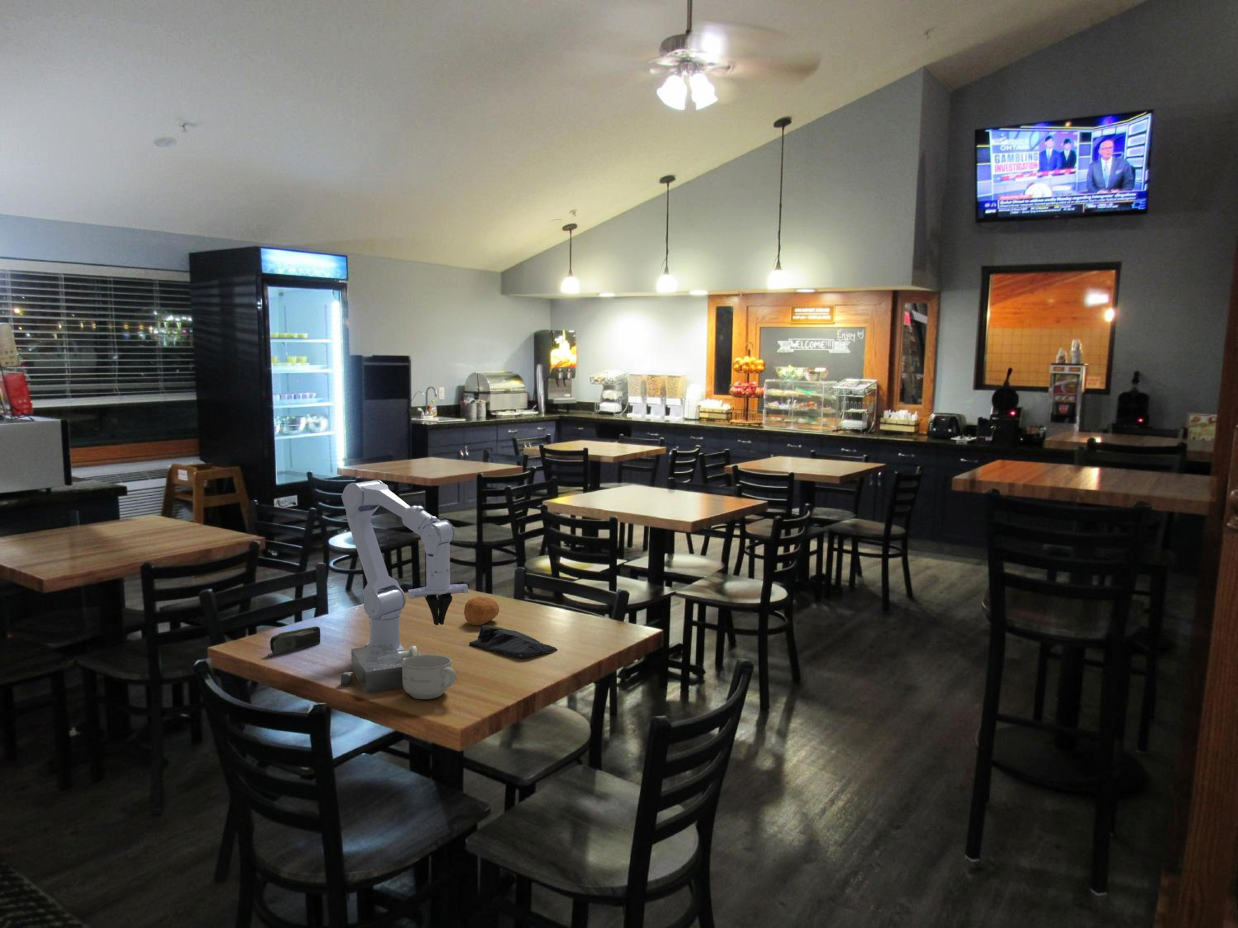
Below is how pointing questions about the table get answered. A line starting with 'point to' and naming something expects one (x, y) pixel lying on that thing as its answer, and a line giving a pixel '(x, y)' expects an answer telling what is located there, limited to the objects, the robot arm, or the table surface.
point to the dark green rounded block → (294, 640)
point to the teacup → (427, 675)
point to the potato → (480, 610)
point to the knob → (408, 652)
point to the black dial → (346, 678)
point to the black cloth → (510, 642)
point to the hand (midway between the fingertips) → (438, 623)
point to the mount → (377, 667)
